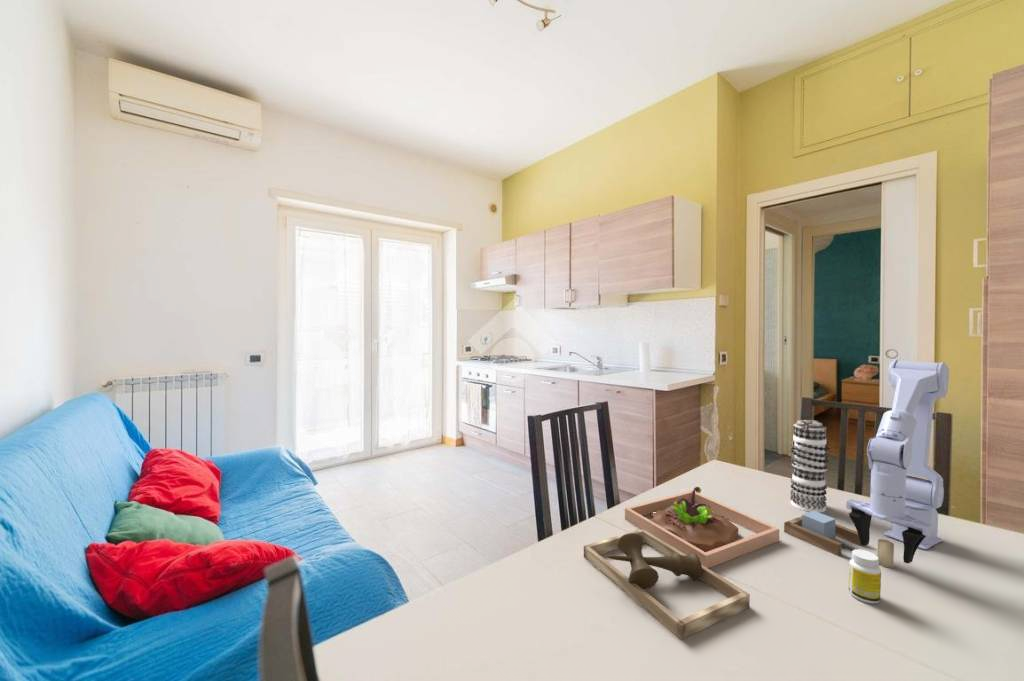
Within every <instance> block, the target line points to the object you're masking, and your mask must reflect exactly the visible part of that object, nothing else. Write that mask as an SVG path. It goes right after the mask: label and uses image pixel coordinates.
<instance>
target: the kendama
mask: <svg viewBox="0 0 1024 681" xmlns="http://www.w3.org/2000/svg"><path fill="white" fill-rule="evenodd" d="M623 534H624V535H623ZM623 534H622V535H623V536H621V537H620V539H619V540H618V548H619V549H618V550H619V551H620V552H621V553H623V554H624V555H616V554H615V555H614V554H613V555H611V554H609V555H607V558H608V559H610V560H614V561H621V562H628V563H629V564H630V572H629V575H628V578H629V580H628V582H629V583H632V584H637V585H638V586H639V587H640V588H642V589H643V590H647V589H651V588H653V587H654V586H655V585H656V584H657V583H658V581H659V578H660V577H659V572H658V571H657V570H656V569H654V567H655V568H659V569H663V570H665V571H669V572H672V573H673V575H674V576H675V577H680V576H682V575H684V576H687V577H690V579H691V580H693V581H697V580H699V579H700V576H701V573H702V565H701V561H700V559H699V557H698V556H697V554H695V553H694V552H690V553H689V554H688V555H686V556H684V555H680V554H678V553H677V552H673V553H672V554H671V555H670V556H665V555H663V556H647V557H646V556H644V554H643V545H644V542H643V538H642V536H640V535H639V534H636V533H629V532H627V534H626V533H623Z"/></svg>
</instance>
